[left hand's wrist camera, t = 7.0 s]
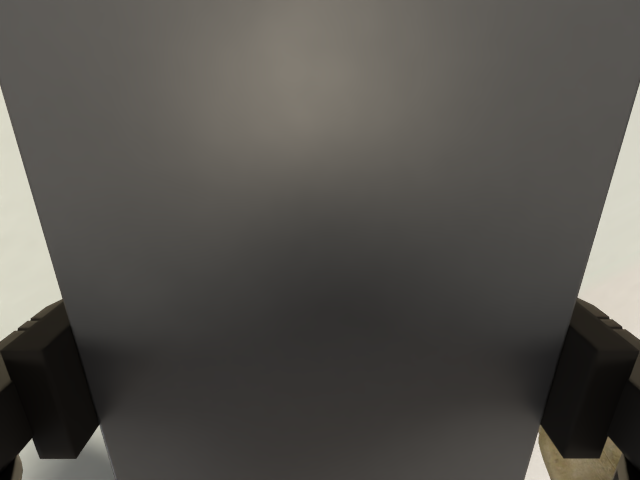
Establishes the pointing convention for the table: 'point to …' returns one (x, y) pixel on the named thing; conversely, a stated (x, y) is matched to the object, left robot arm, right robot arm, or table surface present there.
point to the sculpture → (578, 462)
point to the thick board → (319, 221)
